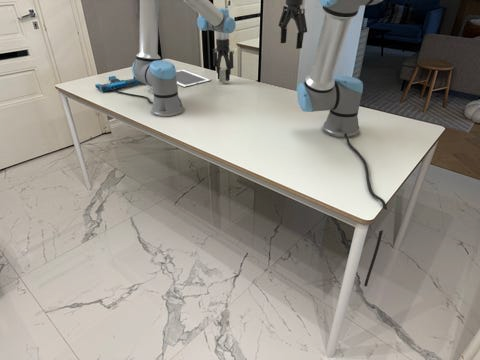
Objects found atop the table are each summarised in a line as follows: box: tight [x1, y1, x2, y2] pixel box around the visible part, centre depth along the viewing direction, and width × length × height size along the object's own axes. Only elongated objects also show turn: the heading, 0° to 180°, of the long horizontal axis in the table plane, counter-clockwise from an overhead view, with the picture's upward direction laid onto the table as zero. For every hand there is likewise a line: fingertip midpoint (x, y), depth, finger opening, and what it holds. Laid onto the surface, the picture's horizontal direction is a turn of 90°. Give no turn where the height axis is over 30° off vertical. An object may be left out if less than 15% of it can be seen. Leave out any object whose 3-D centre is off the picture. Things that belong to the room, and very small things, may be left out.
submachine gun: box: [94, 75, 142, 92], centre depth 206 cm, size 34×4×25 cm
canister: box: [218, 67, 229, 83], centre depth 204 cm, size 5×5×7 cm
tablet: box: [176, 69, 212, 88], centre depth 216 cm, size 32×20×1 cm, turn 41°
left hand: (223, 79), depth 206 cm, fingers closed on canister, 5 cm apart
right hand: (290, 45), depth 161 cm, fingers open, 13 cm apart
